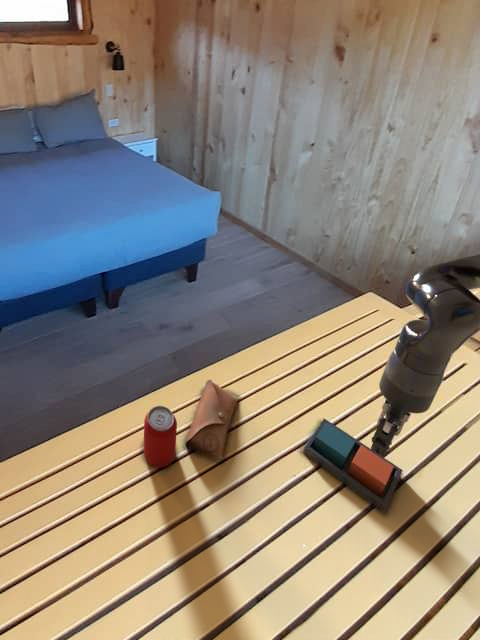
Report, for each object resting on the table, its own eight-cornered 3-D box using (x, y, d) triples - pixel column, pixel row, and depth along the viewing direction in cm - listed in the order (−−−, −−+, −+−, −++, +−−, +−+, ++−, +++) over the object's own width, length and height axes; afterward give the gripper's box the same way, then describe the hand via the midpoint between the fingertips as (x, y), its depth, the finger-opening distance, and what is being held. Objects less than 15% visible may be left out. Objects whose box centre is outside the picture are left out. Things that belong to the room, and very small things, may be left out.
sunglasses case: (224, 464, 84) (210, 440, 83) (194, 462, 88) (181, 440, 87) (239, 396, 98) (228, 375, 97) (214, 397, 102) (202, 377, 101)
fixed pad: (351, 453, 85) (355, 441, 83) (341, 469, 82) (346, 458, 80) (322, 433, 89) (326, 422, 87) (312, 448, 86) (316, 437, 84)
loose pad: (388, 478, 81) (394, 466, 79) (379, 497, 78) (385, 485, 76) (356, 456, 85) (361, 444, 83) (347, 473, 82) (352, 461, 80)
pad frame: (398, 478, 81) (402, 470, 80) (382, 514, 76) (386, 506, 74) (321, 425, 92) (323, 417, 90) (302, 454, 86) (304, 446, 85)
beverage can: (179, 447, 88) (182, 411, 82) (166, 475, 83) (169, 439, 77) (152, 433, 91) (153, 397, 85) (138, 459, 86) (138, 423, 80)
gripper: (425, 418, 61) (395, 479, 69) (448, 366, 70) (419, 425, 77) (372, 388, 66) (349, 448, 74) (399, 342, 75) (377, 400, 82)
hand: (385, 436), depth 75 cm, fingers open, 8 cm apart
